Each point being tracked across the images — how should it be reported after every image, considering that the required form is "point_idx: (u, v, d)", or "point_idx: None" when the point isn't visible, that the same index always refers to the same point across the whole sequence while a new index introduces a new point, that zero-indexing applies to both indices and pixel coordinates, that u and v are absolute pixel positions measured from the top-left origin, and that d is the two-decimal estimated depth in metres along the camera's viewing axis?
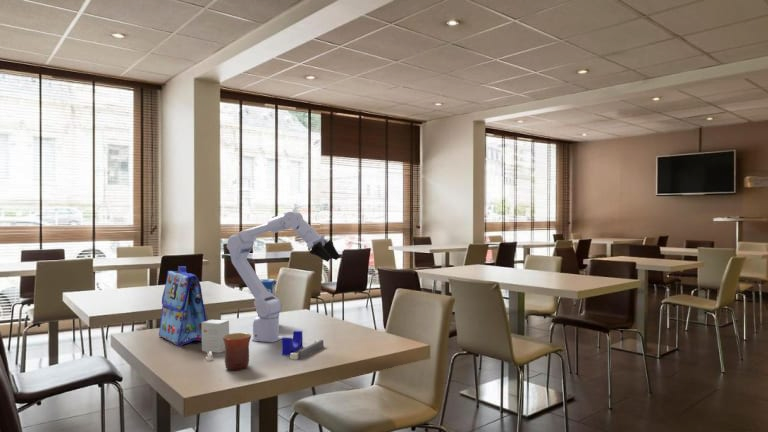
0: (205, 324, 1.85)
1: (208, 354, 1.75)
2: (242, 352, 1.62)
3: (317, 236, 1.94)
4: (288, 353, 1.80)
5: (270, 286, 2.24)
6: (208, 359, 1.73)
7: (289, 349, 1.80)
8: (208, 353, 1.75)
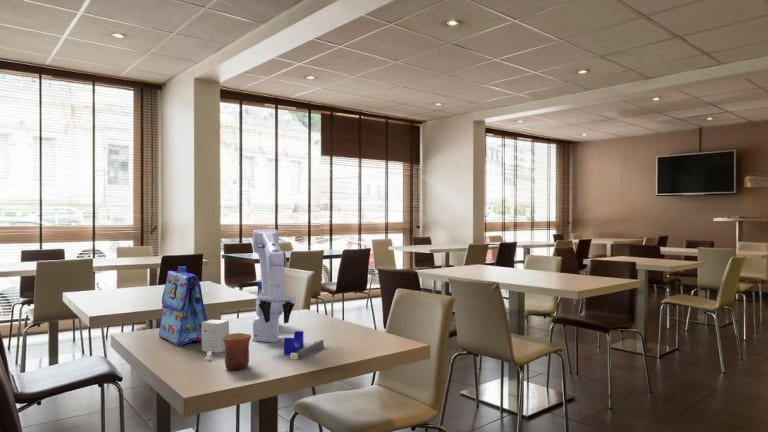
0: (205, 324, 1.85)
1: (207, 353, 1.75)
2: (242, 352, 1.62)
3: (269, 295, 1.86)
4: None
5: None
6: (207, 359, 1.74)
7: (291, 349, 1.80)
8: (207, 353, 1.75)
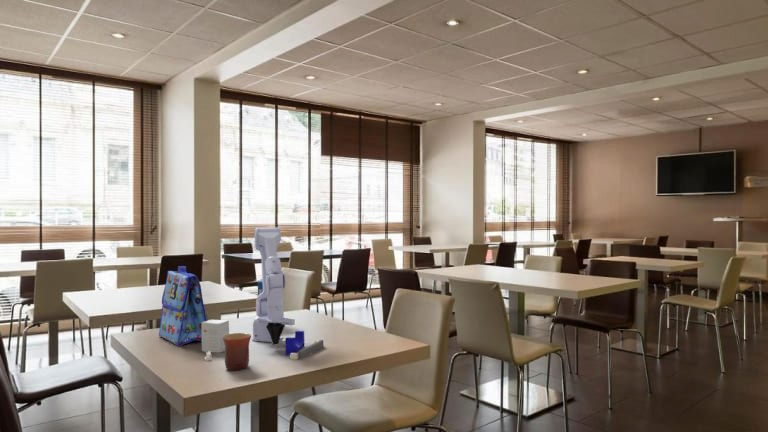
0: (205, 324, 1.85)
1: (207, 354, 1.75)
2: (242, 352, 1.62)
3: (268, 317, 1.86)
4: None
5: None
6: (207, 359, 1.74)
7: (292, 349, 1.80)
8: (207, 353, 1.75)
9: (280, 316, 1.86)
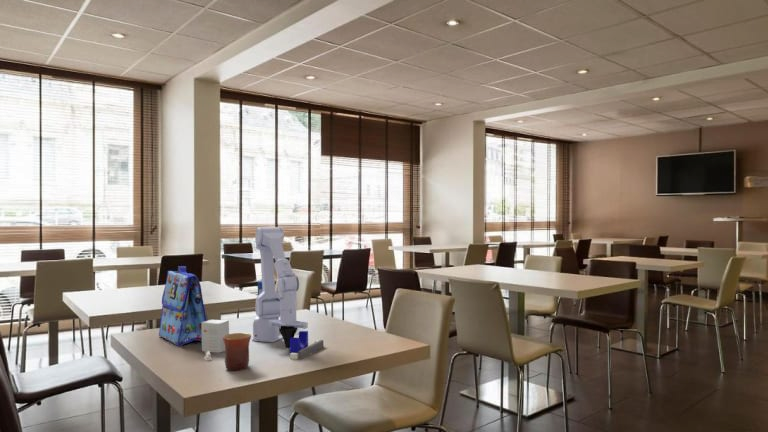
0: (205, 324, 1.85)
1: (206, 353, 1.75)
2: (242, 352, 1.62)
3: (281, 320, 1.84)
4: None
5: None
6: (206, 359, 1.74)
7: (297, 349, 1.80)
8: (206, 353, 1.75)
9: (293, 319, 1.84)
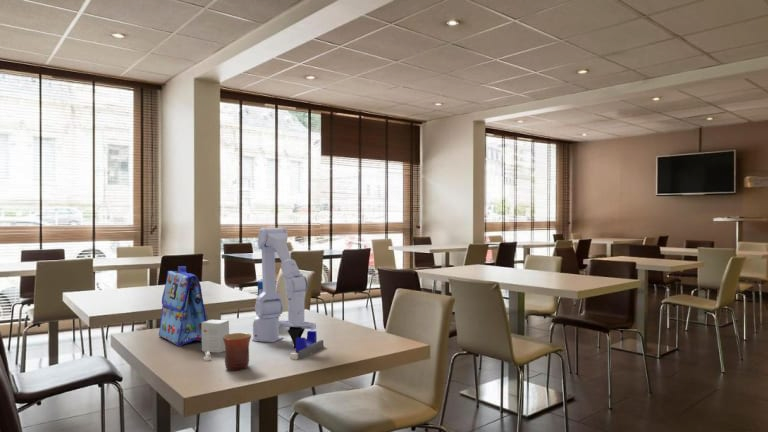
0: (205, 324, 1.85)
1: (206, 354, 1.75)
2: (242, 352, 1.62)
3: (289, 321, 1.83)
4: None
5: None
6: (206, 359, 1.74)
7: None
8: (206, 353, 1.75)
9: (301, 320, 1.83)
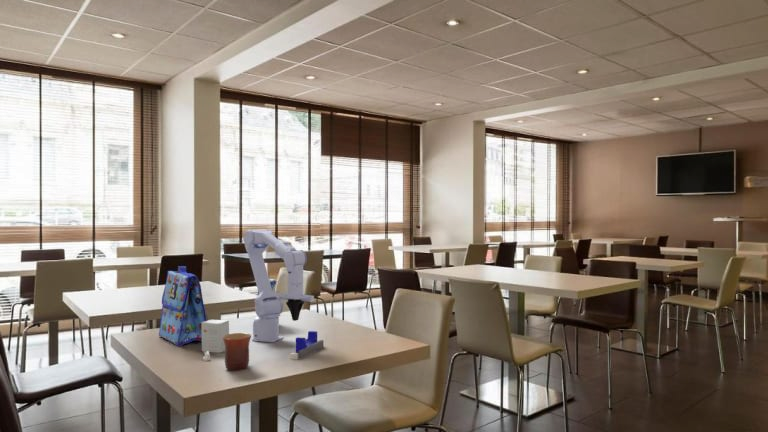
0: (205, 324, 1.85)
1: (205, 354, 1.75)
2: (242, 352, 1.62)
3: (288, 293, 1.90)
4: None
5: None
6: (205, 359, 1.74)
7: None
8: (205, 353, 1.75)
9: (300, 292, 1.90)
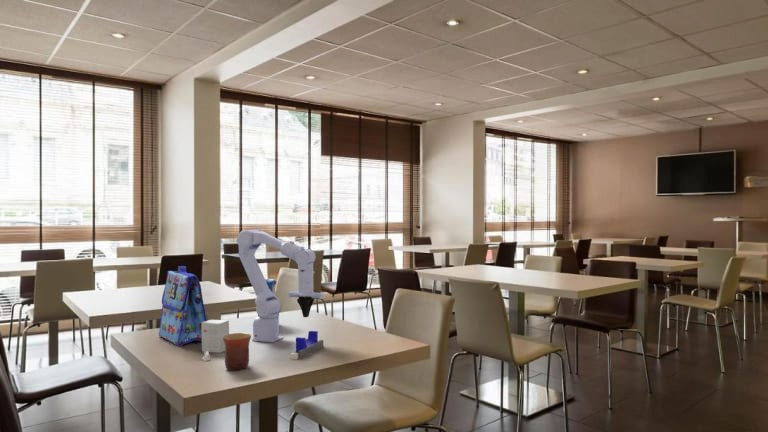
0: (205, 324, 1.85)
1: (205, 354, 1.75)
2: (242, 352, 1.62)
3: (299, 291, 1.96)
4: None
5: (270, 286, 2.24)
6: (205, 359, 1.74)
7: None
8: (205, 353, 1.75)
9: (310, 290, 1.96)
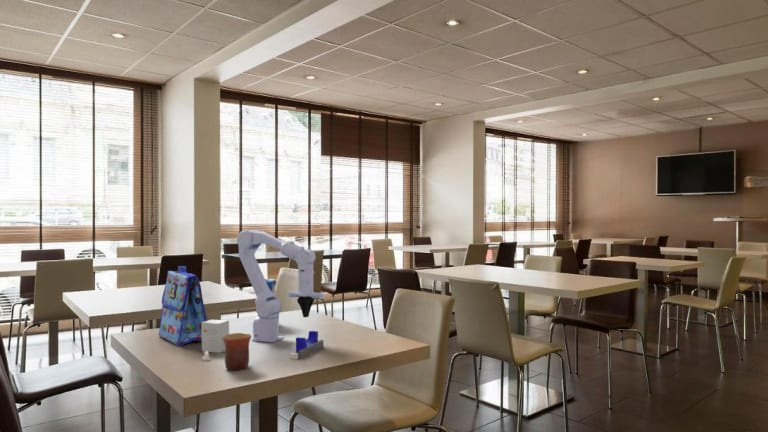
0: (205, 324, 1.85)
1: (205, 354, 1.75)
2: (242, 352, 1.62)
3: (299, 291, 1.96)
4: None
5: (270, 286, 2.24)
6: (205, 359, 1.74)
7: None
8: (205, 353, 1.75)
9: (310, 290, 1.96)
